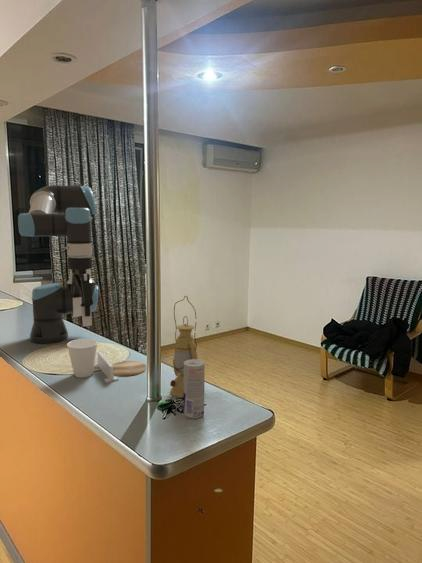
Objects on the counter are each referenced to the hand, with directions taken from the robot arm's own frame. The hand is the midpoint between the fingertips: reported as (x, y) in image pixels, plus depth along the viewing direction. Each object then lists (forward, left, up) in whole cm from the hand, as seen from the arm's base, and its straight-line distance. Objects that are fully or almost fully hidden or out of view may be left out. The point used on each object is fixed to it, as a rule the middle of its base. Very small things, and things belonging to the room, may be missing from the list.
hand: (82, 320), depth 134 cm
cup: (0, 0, -19) cm, 19 cm away
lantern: (+28, +24, -19) cm, 41 cm away
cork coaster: (+2, +14, -19) cm, 23 cm away
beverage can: (+42, +20, -19) cm, 50 cm away
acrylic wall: (+2, +7, -19) cm, 20 cm away
